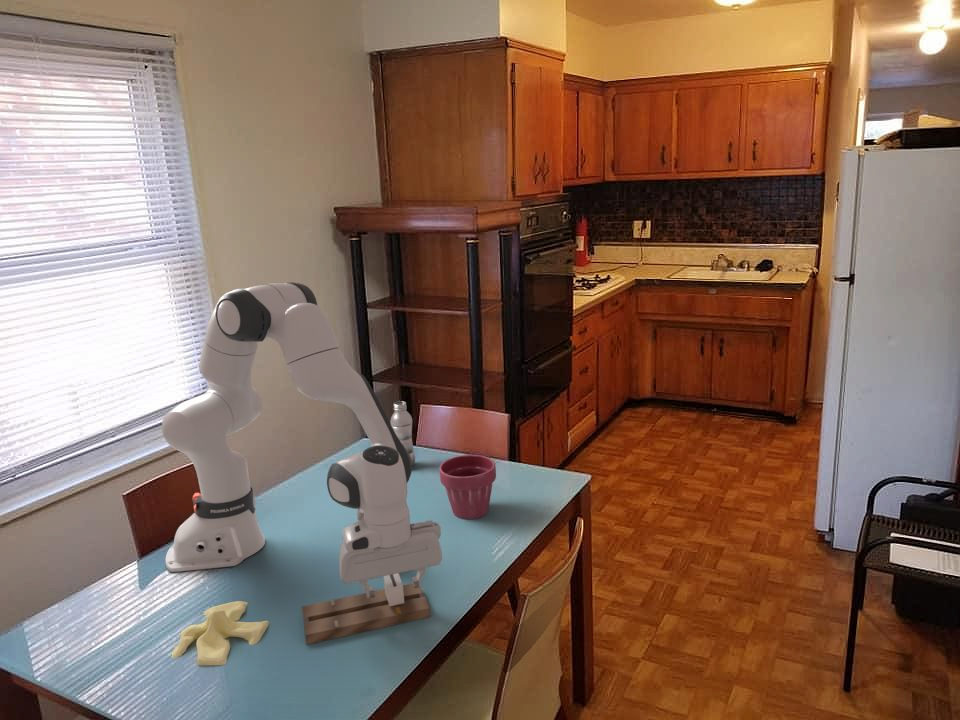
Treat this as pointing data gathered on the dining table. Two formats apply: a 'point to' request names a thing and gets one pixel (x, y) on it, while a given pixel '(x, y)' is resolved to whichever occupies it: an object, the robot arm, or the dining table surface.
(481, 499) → the plant pot
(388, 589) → the fader knob
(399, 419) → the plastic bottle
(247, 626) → the cloth
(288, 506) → the dining table surface
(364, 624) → the fader console
